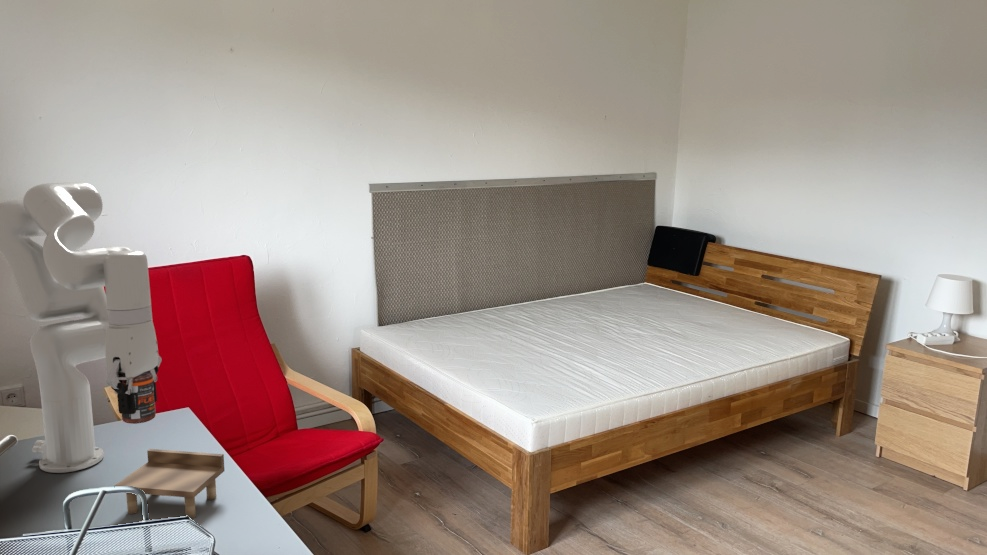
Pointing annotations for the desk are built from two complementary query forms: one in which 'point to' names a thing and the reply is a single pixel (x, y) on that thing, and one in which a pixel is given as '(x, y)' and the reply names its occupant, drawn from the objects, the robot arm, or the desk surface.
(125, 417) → the supplement bottle
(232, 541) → the desk surface
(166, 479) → the peg shelf
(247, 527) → the desk surface
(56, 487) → the desk surface
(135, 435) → the desk surface
